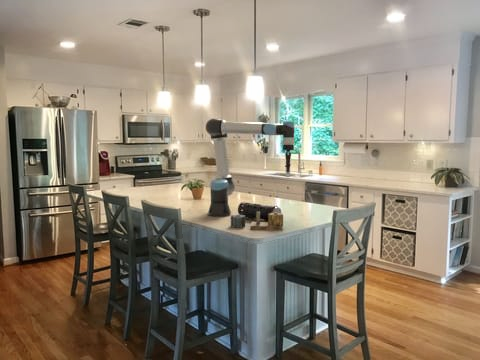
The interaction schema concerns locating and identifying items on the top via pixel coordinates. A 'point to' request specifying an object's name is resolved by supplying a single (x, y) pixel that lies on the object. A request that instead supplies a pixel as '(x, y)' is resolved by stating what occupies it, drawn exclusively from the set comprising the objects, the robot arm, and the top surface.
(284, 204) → the top surface
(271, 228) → the gear board
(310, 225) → the top surface
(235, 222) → the steel gear
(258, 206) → the muzzle brake
